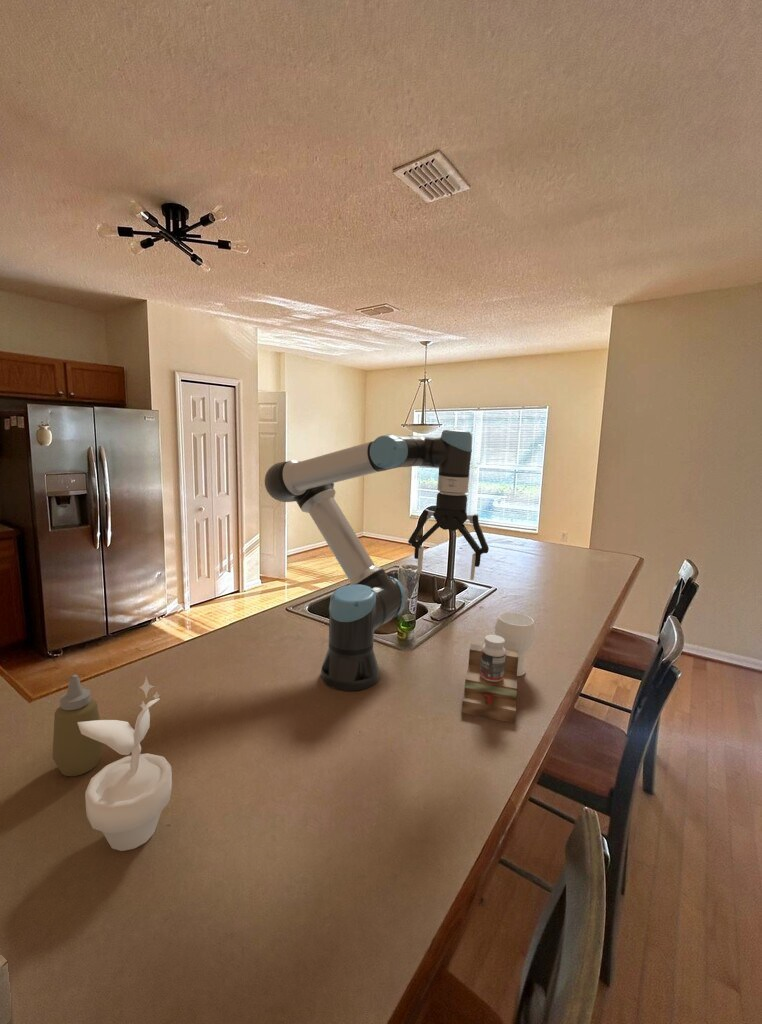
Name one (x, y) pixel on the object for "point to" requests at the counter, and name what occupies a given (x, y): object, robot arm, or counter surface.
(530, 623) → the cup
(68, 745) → the squeeze bottle
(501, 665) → the pill bottle
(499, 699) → the stand
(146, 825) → the potted plant
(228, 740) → the counter surface
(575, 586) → the counter surface
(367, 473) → the robot arm
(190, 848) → the counter surface
